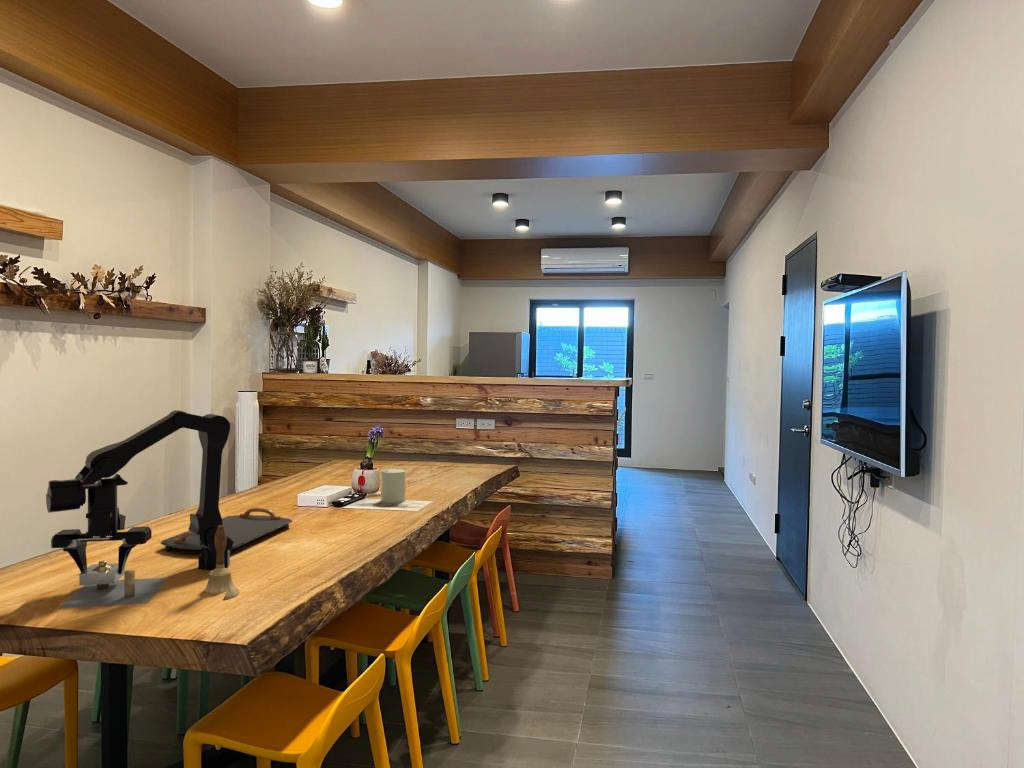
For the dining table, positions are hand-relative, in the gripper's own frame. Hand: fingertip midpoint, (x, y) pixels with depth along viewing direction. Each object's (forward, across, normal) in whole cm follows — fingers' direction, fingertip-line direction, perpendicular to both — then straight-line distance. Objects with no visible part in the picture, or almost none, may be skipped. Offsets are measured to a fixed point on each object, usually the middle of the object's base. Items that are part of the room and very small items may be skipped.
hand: (103, 574), depth 151 cm
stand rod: (+3, -7, +7) cm, 11 cm away
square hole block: (+1, 0, 0) cm, 1 cm away
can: (+5, -70, -91) cm, 115 cm away
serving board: (+5, -20, -45) cm, 50 cm away
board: (+4, -4, +4) cm, 7 cm away
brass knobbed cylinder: (+3, 0, 0) cm, 3 cm away
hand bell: (+5, -25, +5) cm, 26 cm away
